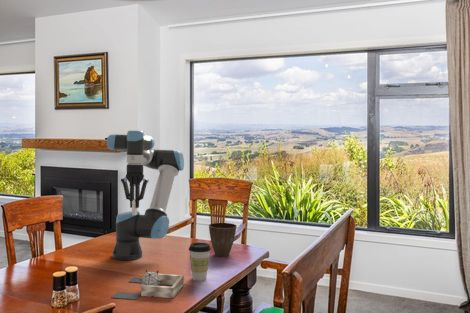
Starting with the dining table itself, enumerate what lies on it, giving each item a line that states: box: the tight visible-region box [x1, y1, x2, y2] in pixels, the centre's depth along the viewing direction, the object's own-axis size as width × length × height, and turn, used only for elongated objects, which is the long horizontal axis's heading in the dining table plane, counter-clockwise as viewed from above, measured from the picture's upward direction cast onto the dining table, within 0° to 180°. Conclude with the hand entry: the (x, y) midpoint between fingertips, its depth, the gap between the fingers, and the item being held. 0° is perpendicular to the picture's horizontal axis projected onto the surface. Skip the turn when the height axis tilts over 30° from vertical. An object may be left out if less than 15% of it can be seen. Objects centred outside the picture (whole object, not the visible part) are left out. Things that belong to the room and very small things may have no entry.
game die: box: [139, 269, 162, 286], centre depth 170 cm, size 9×8×10 cm
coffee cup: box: [188, 242, 212, 281], centre depth 187 cm, size 10×10×15 cm
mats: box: [110, 276, 143, 301], centre depth 173 cm, size 10×24×1 cm, turn 173°
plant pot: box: [208, 222, 238, 258], centre depth 225 cm, size 15×15×16 cm
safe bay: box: [140, 273, 185, 299], centre depth 171 cm, size 13×15×4 cm
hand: (134, 214), depth 194 cm, fingers closed
